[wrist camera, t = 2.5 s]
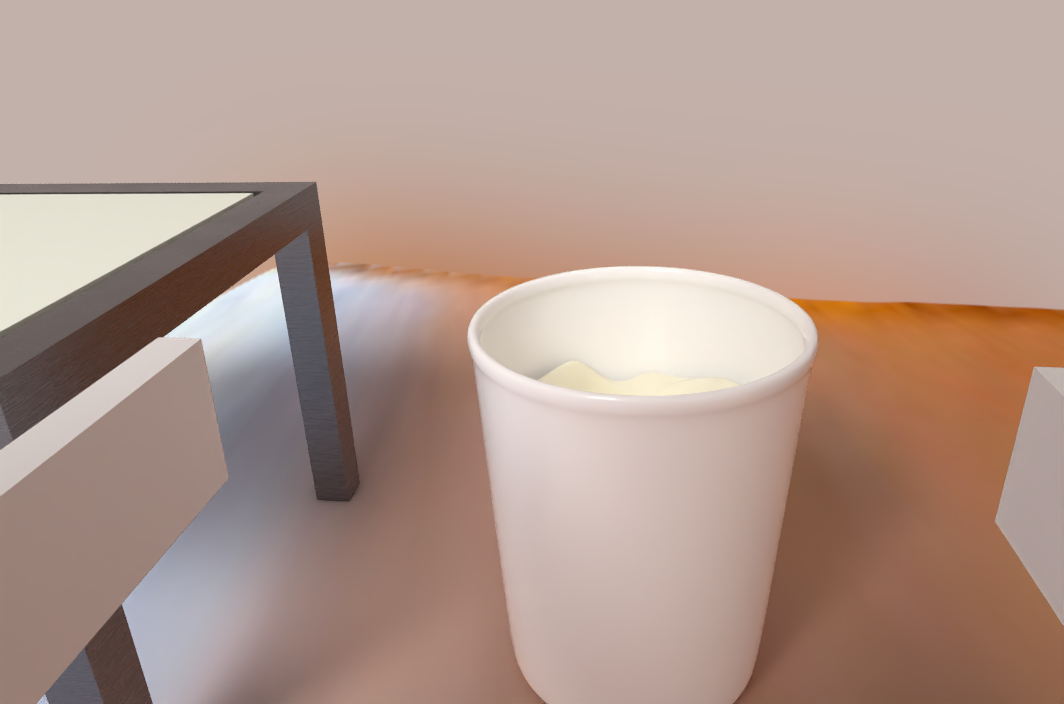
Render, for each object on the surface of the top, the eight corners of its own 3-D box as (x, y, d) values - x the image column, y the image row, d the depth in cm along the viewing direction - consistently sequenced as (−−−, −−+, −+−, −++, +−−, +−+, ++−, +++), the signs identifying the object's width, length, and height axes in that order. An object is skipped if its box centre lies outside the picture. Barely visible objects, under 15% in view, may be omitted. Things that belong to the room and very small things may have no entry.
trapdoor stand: (359, 482, 38) (316, 182, 32) (152, 846, 22) (-8, 382, 16) (33, 468, 40) (-63, 184, 34) (-369, 791, 24) (-674, 363, 18)
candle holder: (493, 556, 33) (473, 271, 28) (736, 544, 33) (760, 259, 28) (487, 771, 24) (457, 408, 19) (822, 754, 24) (880, 389, 19)
